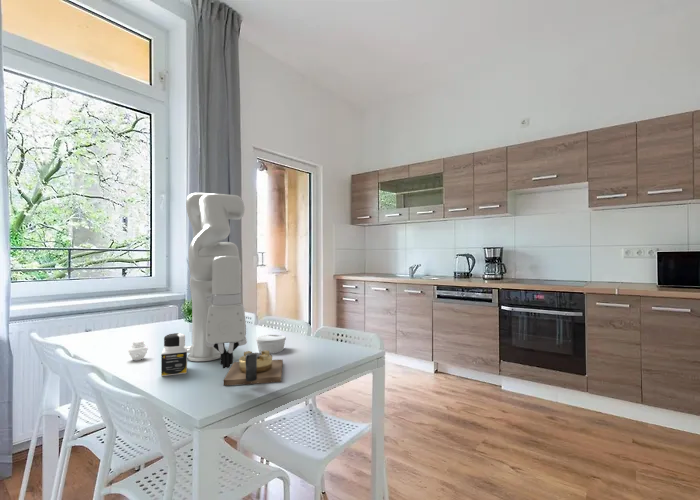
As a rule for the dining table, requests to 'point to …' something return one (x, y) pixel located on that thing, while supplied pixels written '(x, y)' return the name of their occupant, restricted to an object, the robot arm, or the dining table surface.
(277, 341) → the ramekin
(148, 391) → the dining table surface
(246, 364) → the brass valve
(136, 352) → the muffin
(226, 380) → the walnut board
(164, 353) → the medicine bottle
